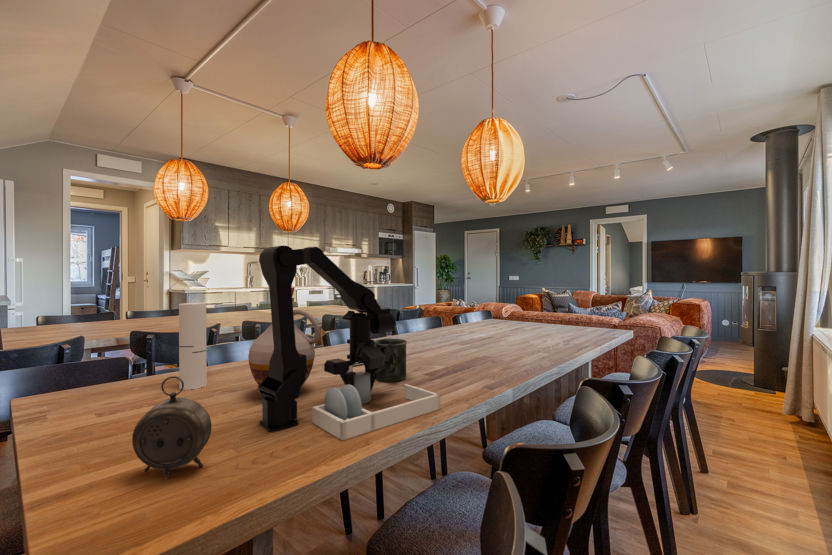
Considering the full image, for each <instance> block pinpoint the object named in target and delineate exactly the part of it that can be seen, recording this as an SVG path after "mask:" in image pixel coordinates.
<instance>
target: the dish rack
mask: <svg viewBox="0 0 832 555" xmlns="http://www.w3.org/2000/svg"><path fill="white" fill-rule="evenodd" d="M403 398H404V399H406V400H409V401H408V402H407V401H406V402H403V403H401V404H397V405H394V406H390V407H385V408H383V409H380V410H379V409H378V410H376V411H370V410H367V409H365V408H364V407H363V405H362V404H363V403H361V399H360V396H359V393H358V391H357V390H356V388H355V387H354V386H352V385H350V384H348V385H345V384H344V385H343V386H342V387H341V388H340V389H339V388H338V387H330V388H329V389H327V391H326V393H325V396H324V401H323V404H319V405H314V406H312V407H311V418H312V419H311V423H312V424H314V425H316V427H319V428H321V429H322V430H324V431H325V432H328V433H329V434H330V435H333V437H335V438H337V439H339V440H341V441H345V440H349V439H352V438H355V437H358V436H360V435H361V436H362V435H363V434H367V433H370V432H373V431H376V430H379V429H381V428H385V427H388V426H391V425H396V424H398V423H401V422H404V421H407V420H410V419H413V418H416V417H419V416H422V415H426V414H429V413H432V412H435V411H438V410H441V409H442V408H441V405H442V404H441V402H442V399H441V394H440V393H437V392H433V391H430V390H427V389H424V388H420V387H418V386H414V385H411V384H407V383H405V384H404V385H403Z"/></svg>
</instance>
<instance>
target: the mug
mask: <svg viewBox="0 0 832 555" xmlns="http://www.w3.org/2000/svg"><path fill="white" fill-rule="evenodd" d="M374 342H375V347H376V348H381V347H386V346H387V347H388V348H390V353H391V354H392V355H393V357H394V364H391V365H383V366H385V368H384V369H382V370H381V371H380V372H379V373H378V374H377V377H376V379H375V380H377V381H380V382H382V383H383V382H385V383H395V382H401V381H403V380H405V379H406V377H407V345H408V341H407V340H406V339H401V338H383V339H377V340H374Z"/></svg>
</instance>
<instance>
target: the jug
mask: <svg viewBox="0 0 832 555" xmlns="http://www.w3.org/2000/svg"><path fill="white" fill-rule="evenodd" d="M295 288H296V287H294V286H292V301H293V303H294V301H295V297H293V296H294V291H295ZM293 314H294V316H297V315H300V316H303V317H305V318H306V319H307V320H308V321H309V322H310V323H311V325H312V327H313V330H314V336H313V338H312V339H311V338H310V337H308V335H306V333H305V332H303V331H302V330H301V329H300V328H299V327H297V325H295V323H294V327H295V341H296V349H297V351H298V353H300V354H304V355H306V358H307V362H306V367H307V370H308V373H306V379H305V382H306V381H307V380H308V378H309V377H310V375H311V372H312V369H313V366H314V361H315V358H316V357H315V354H316V350H315V346H314V344H316V343H317V342H318V341H319V338H320V335H321V330H320V326H319V324H318V321H317V320H316V318H315V317H314V316H313V315H312V314H311V313H309V312H307V311H306V310H303V309H300V308H299V309H293ZM273 351H274V343H273V330H272V323H271V324H270V325H269V326H268V327H266V329H265V330H264V331H263V332H262V333H261V334H260V335H259V336H258V337H257V338H256V339H255V340H253V342H252V344H251V346H250V347H249V351H248V356H247V358H248V365H249V369H250V372H251V375H252V377H253V379H254V381H255V383H256V384H258V386H259V385H260V383H261V382H262V381H263V380H264V379H265V377H266V376H267V375H268V373H269V362H270V359H271V356H272V354H273ZM305 382H303V384H302V386H301V388H302V387H303V386H304V384H305Z"/></svg>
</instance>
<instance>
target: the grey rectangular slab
mask: <svg viewBox="0 0 832 555" xmlns="http://www.w3.org/2000/svg"><path fill="white" fill-rule="evenodd" d="M355 372H356V374H355V376H354V387H355V388H356V390H357V391H358V393H359V396H360V399H361V403H362V404H367V403H370V402H371V393H370V373H369V372H365V371H355Z"/></svg>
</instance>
